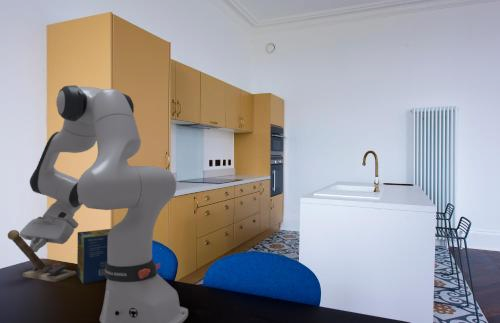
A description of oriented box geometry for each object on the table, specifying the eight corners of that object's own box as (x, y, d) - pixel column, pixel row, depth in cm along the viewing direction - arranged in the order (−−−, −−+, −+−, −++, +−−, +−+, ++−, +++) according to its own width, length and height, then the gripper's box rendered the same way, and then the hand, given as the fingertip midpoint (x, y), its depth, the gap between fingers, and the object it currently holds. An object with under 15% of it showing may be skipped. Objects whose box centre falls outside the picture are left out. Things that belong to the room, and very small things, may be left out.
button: (62, 268, 121) (62, 263, 121) (55, 270, 118) (55, 265, 119) (56, 267, 122) (56, 262, 122) (50, 270, 119) (50, 264, 119)
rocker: (66, 268, 118) (66, 265, 118) (54, 274, 114) (54, 271, 114) (60, 267, 119) (60, 264, 119) (48, 273, 115) (48, 270, 115)
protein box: (76, 275, 119) (76, 231, 119) (121, 268, 128) (121, 227, 128) (82, 284, 110) (82, 237, 110) (129, 275, 119) (130, 231, 120)
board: (75, 274, 120) (76, 267, 120) (55, 282, 112) (56, 274, 112) (43, 269, 125) (43, 262, 125) (22, 276, 118) (22, 268, 118)
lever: (49, 266, 121) (18, 228, 110) (43, 273, 118) (10, 235, 108) (43, 265, 122) (11, 227, 111) (36, 272, 120) (3, 234, 109)
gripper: (31, 211, 127) (4, 243, 118) (72, 214, 120) (46, 249, 110) (42, 221, 131) (17, 252, 122) (82, 225, 124) (58, 258, 115)
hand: (31, 251), depth 116 cm, fingers closed, pressing on lever
